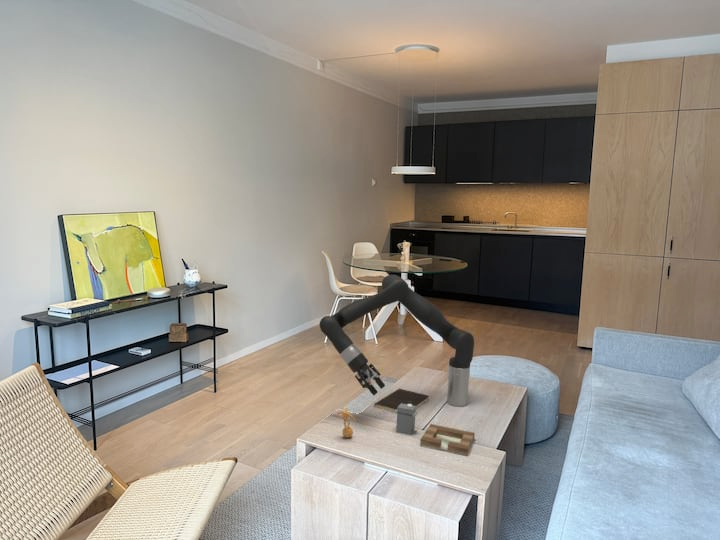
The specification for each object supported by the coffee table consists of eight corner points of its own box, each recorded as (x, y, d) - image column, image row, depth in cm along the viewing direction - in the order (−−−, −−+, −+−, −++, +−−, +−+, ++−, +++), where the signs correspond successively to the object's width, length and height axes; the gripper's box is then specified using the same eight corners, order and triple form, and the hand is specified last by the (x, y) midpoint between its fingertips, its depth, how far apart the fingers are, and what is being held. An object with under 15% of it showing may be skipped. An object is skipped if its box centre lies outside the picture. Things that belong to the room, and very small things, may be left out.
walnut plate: (430, 430, 200) (430, 423, 200) (474, 439, 194) (474, 432, 193) (420, 445, 186) (420, 439, 186) (466, 456, 180) (467, 449, 180)
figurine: (359, 437, 191) (361, 406, 189) (352, 443, 185) (353, 412, 184) (340, 432, 194) (341, 402, 193) (332, 438, 189) (333, 407, 188)
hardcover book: (429, 400, 233) (429, 395, 233) (407, 416, 214) (407, 411, 213) (397, 393, 241) (398, 388, 241) (373, 407, 222) (374, 402, 222)
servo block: (397, 427, 202) (398, 400, 200) (416, 431, 199) (418, 403, 197) (393, 431, 197) (395, 404, 196) (413, 435, 194) (415, 407, 193)
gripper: (353, 356, 196) (380, 390, 193) (367, 348, 209) (392, 379, 206) (340, 368, 198) (366, 401, 195) (354, 358, 211) (379, 390, 208)
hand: (379, 390), depth 201 cm, fingers open, 8 cm apart
